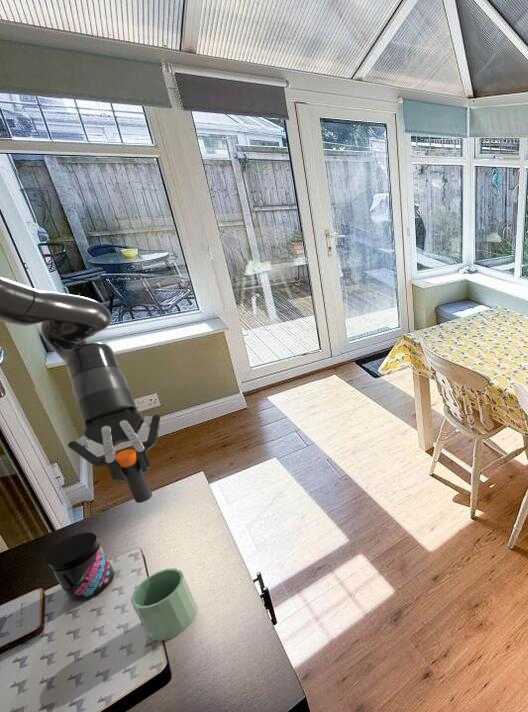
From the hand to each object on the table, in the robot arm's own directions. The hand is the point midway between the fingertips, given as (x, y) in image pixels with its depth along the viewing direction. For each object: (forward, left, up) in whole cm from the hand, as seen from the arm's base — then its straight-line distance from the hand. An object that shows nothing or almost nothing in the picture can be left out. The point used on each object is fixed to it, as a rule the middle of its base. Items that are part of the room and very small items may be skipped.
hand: (134, 476), depth 77 cm
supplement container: (-11, -2, -21) cm, 24 cm away
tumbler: (+4, -16, -21) cm, 27 cm away
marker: (-1, +2, -7) cm, 7 cm away
